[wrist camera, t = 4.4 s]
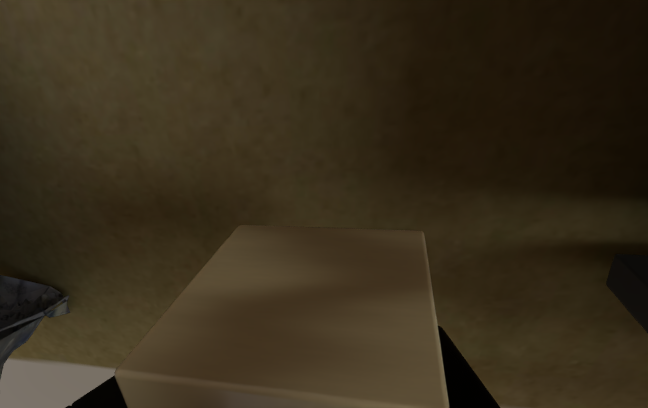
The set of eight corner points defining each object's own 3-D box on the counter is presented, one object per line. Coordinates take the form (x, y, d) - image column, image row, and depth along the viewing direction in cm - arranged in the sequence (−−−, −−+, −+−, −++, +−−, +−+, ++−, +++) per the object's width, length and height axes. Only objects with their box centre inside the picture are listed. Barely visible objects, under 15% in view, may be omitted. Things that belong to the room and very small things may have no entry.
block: (424, 229, 8) (452, 416, 4) (415, 372, 10) (428, 599, 6) (238, 223, 9) (109, 373, 5) (261, 356, 11) (181, 545, 7)
